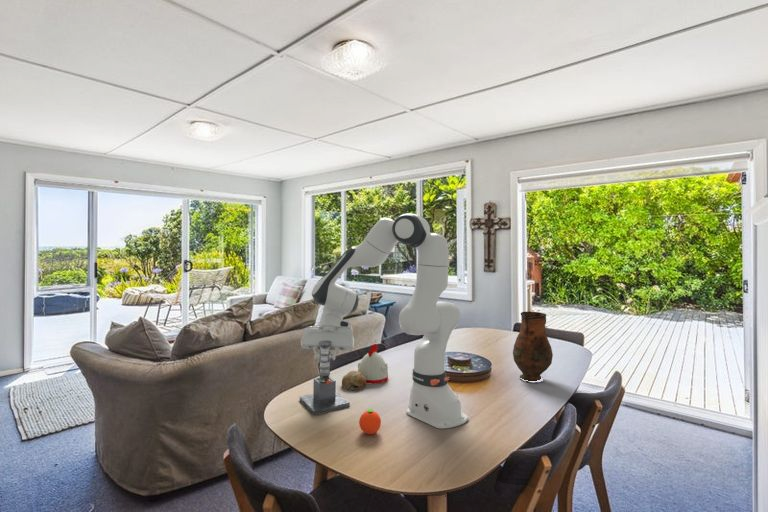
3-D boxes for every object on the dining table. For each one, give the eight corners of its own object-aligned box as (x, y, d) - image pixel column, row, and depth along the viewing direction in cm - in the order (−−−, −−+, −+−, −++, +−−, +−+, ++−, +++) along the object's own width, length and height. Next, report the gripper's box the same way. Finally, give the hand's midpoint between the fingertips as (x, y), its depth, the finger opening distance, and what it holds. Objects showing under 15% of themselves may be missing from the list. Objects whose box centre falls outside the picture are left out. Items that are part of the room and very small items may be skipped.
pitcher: (505, 379, 171) (507, 312, 170) (525, 368, 186) (527, 307, 185) (542, 389, 160) (544, 318, 158) (560, 377, 175) (563, 312, 174)
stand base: (349, 406, 140) (350, 380, 139) (313, 415, 132) (314, 387, 132) (333, 393, 151) (333, 369, 151) (299, 400, 144) (300, 375, 144)
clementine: (358, 426, 125) (359, 404, 125) (380, 425, 125) (380, 404, 125) (359, 438, 117) (359, 416, 117) (381, 438, 117) (381, 415, 117)
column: (332, 388, 141) (333, 342, 140) (321, 390, 138) (321, 344, 138) (327, 384, 145) (328, 339, 144) (316, 386, 142) (316, 341, 142)
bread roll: (342, 398, 156) (344, 383, 152) (339, 379, 165) (340, 365, 161) (366, 395, 159) (368, 381, 155) (361, 377, 167) (363, 364, 164)
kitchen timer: (392, 375, 173) (393, 343, 172) (380, 386, 160) (380, 350, 160) (365, 371, 178) (366, 339, 178) (351, 380, 166) (351, 346, 165)
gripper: (303, 321, 148) (295, 353, 139) (355, 323, 147) (350, 356, 137) (306, 330, 153) (298, 361, 144) (356, 332, 151) (352, 364, 142)
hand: (324, 359), depth 141 cm, fingers open, 5 cm apart
